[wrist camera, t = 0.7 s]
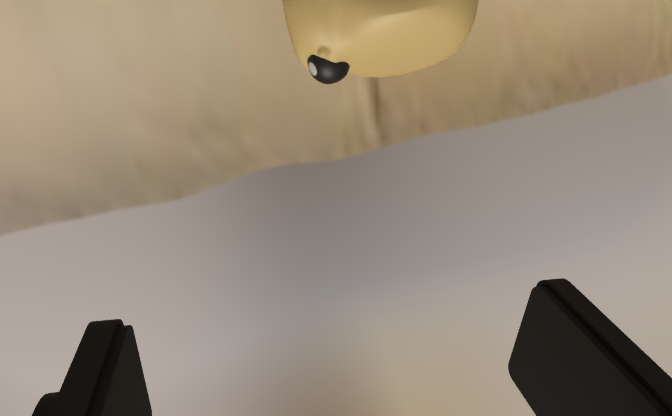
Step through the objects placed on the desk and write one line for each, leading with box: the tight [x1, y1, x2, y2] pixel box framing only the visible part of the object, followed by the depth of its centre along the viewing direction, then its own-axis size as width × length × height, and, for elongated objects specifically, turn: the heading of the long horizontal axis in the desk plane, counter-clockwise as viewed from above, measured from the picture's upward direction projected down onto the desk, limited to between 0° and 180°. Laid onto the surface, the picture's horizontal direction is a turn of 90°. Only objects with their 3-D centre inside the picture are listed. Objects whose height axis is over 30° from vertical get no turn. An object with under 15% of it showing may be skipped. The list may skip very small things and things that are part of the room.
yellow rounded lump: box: [283, 0, 478, 84], centre depth 28 cm, size 10×12×11 cm
